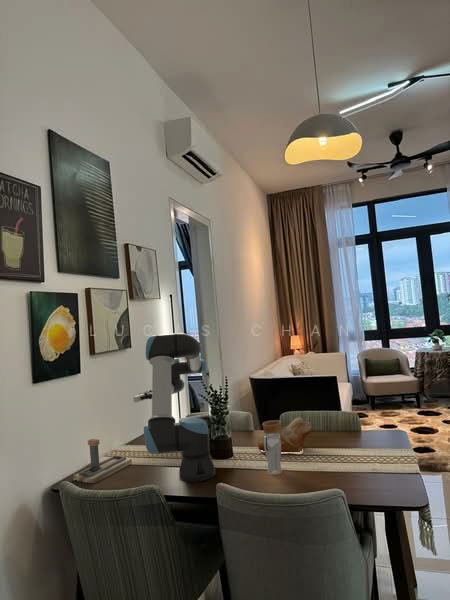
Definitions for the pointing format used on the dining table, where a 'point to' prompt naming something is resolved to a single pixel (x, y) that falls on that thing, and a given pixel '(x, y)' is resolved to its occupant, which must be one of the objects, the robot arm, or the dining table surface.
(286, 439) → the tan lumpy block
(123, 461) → the fader console
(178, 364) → the robot arm
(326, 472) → the dining table surface
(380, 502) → the dining table surface
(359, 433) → the dining table surface
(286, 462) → the dining table surface
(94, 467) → the fader lever
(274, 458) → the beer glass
